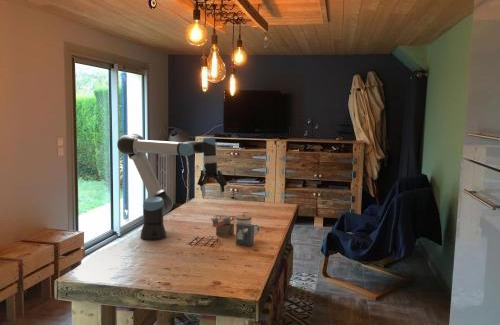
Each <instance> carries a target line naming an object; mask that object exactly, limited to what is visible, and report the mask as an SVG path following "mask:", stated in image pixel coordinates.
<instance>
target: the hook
mask: <svg viewBox="0 0 500 325" xmlns="http://www.w3.org/2000/svg"><path fill="white" fill-rule="evenodd" d="M253 225H254V235H255V234H257V233H259V232H260V225H257V224H253ZM247 237H248V228H246V229H243V230H241V229H240V230H239V232H238V233H237V239H241V240H243V239H245V238H247Z"/></svg>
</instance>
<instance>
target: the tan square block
mask: <svg viewBox="0 0 500 325" xmlns="http://www.w3.org/2000/svg"><path fill="white" fill-rule="evenodd" d="M215 229H216V230H215V236H218V237H224V238H229V237H231V236H233V235H235V223H234V222H230V224H228V225H221V226H219V227H215Z"/></svg>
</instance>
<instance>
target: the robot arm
mask: <svg viewBox="0 0 500 325" xmlns="http://www.w3.org/2000/svg"><path fill="white" fill-rule="evenodd" d="M116 143H117V149H118V151H119V152H120V153H122V154H124V155H127V157H128V159H130V160H132V162H133V163H134V166H135V167H136V168H135V169H136V170H137V172H138V175H139V176H140V178H141V180H142V181H141V182H143V185H144V187H145V190H146V191H147V193H148V196H147V197H146V198H145V199H144V200H143V204H142V207H143V226H142V229H141V232H140V239H142V240H146V241H158V240H159V241H160V240H163V239H165V238H166V237H167V231H166V228H165V226H164V215H166V214H168V213H169V212H170V211H171V210H172V208H173V204H174V203H173V202H174V201H173V198H172V197H171V196H170V195H169V194H167V192H166V190H165V189H162V186H161V184H160V183H159V182H160V181H159V180H158V179H157V176H156V174H155V171H154V170H153V167H152V164H151V163H150V161H149V158H148V156H147V154H159V155H160V154H161V155H173V156H174V155H175V156H183V157H190V156H191V155H194V154H203V161H204V169H205V170H204V169H202V170H200V174H199V179H198V181H197V185H198V186H199V187H200V191H201V197H206V186H205V184H206V182H207V181H208V179H209V178H210V179H211V178H213V179H214V180H215V181H216V182H217V183H218V185H219V194H220V195H219V196H220V197H219V198H223V197H225V193H224V192H225V186H228V183H227V181H226V179H225V177H224V175H223V172H222V170H221V169H219V170H218V163H217V144H216V138H215V136H208V137H203V138H202V140H195V141H194V140H192V141H191V140H189V141H184V142H181V141H179V142H178V141H166V140H150V139H149V140H148V139H145V138H144V137H143V136H142V135H140V134H138V133H131V134H124V135H121V136H120V137H119V138H118V140H117V142H116Z"/></svg>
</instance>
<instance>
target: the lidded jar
mask: <svg viewBox="0 0 500 325" xmlns="http://www.w3.org/2000/svg"><path fill="white" fill-rule="evenodd" d="M234 218H235V225H236V224H238V223H246V224H252V218H253V217H252V216H251V215H248V214H244V213H243V214H238V215H236V216H235V217H234ZM244 229H246V228H243V230H244Z"/></svg>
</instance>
